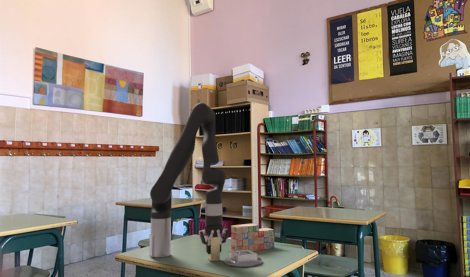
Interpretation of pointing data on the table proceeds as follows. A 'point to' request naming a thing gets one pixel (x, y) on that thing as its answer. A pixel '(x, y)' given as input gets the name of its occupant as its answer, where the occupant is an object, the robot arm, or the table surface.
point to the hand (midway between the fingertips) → (213, 253)
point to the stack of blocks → (251, 237)
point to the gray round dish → (243, 259)
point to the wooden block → (214, 249)
